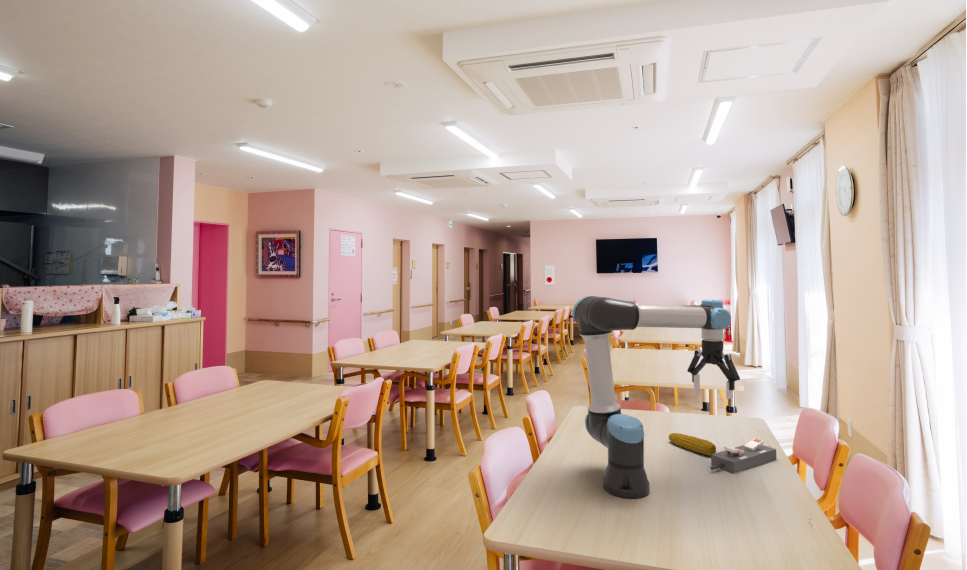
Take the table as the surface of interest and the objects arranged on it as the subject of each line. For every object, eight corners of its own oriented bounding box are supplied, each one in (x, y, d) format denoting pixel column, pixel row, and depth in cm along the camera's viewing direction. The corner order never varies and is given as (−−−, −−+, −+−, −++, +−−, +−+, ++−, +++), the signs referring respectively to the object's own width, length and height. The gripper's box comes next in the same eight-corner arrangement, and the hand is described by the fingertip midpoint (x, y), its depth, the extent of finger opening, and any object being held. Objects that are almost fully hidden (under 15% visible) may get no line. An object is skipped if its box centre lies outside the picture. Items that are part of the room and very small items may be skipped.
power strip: (723, 477, 167) (722, 463, 167) (700, 468, 175) (700, 454, 175) (776, 459, 182) (776, 446, 182) (753, 452, 190) (753, 439, 190)
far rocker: (753, 451, 179) (752, 448, 179) (743, 447, 183) (743, 445, 182) (764, 443, 182) (763, 440, 182) (754, 440, 186) (754, 437, 186)
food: (718, 456, 186) (718, 441, 186) (709, 459, 184) (709, 444, 183) (672, 440, 205) (672, 427, 204) (664, 443, 202) (663, 429, 202)
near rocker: (733, 452, 174) (733, 449, 174) (723, 449, 177) (723, 446, 177) (744, 453, 177) (744, 450, 177) (734, 450, 180) (735, 447, 180)
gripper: (750, 342, 172) (750, 400, 173) (689, 335, 194) (690, 387, 194) (738, 344, 169) (738, 403, 169) (678, 337, 190) (678, 389, 190)
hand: (712, 394), depth 181 cm, fingers open, 13 cm apart
